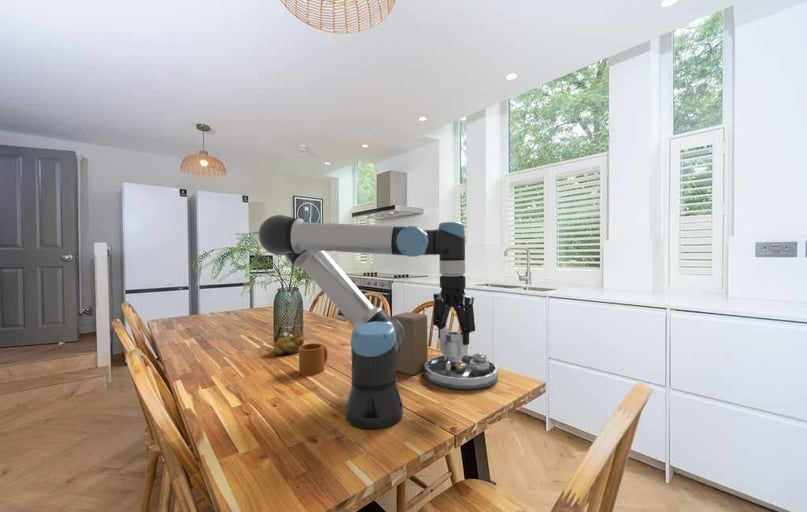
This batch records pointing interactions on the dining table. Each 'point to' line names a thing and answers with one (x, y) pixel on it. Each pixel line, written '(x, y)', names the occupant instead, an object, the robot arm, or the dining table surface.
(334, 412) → the dining table surface
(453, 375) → the carrier
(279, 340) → the bread roll
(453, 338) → the gear
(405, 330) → the wooden block
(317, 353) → the mug
